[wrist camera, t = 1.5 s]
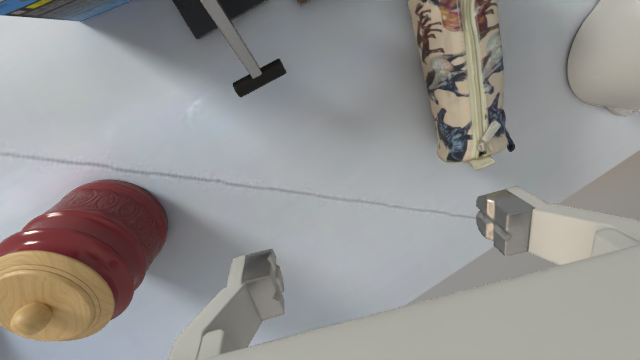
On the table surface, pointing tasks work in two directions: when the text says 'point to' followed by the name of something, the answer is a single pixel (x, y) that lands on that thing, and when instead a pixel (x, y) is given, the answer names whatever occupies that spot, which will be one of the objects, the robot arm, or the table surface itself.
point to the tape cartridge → (57, 8)
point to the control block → (302, 2)
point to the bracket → (199, 20)
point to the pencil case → (463, 77)
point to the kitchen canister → (79, 261)
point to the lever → (243, 53)
